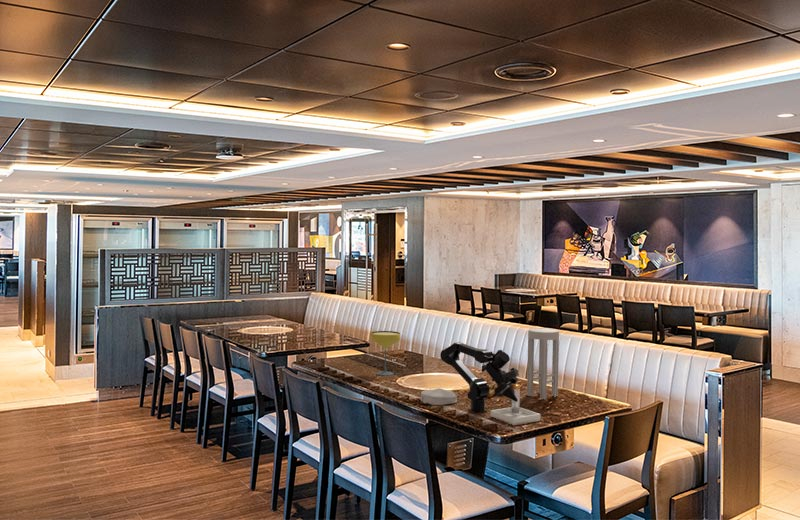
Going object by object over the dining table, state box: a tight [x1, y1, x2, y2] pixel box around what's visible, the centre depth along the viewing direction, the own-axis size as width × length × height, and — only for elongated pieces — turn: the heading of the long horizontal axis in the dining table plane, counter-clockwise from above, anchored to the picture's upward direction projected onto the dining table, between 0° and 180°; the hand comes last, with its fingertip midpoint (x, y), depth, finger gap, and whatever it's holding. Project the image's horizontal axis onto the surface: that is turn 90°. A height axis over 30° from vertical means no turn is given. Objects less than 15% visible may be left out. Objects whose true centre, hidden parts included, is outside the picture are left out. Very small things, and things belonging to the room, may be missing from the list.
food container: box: [419, 387, 458, 406], centre depth 331 cm, size 20×20×7 cm
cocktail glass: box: [370, 330, 401, 376], centre depth 395 cm, size 18×18×25 cm
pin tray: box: [490, 406, 542, 426], centre depth 299 cm, size 16×16×3 cm
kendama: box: [487, 383, 502, 398], centre depth 346 cm, size 8×6×18 cm
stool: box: [526, 328, 560, 400], centre depth 344 cm, size 16×16×35 cm
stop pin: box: [509, 383, 522, 416], centre depth 298 cm, size 6×6×14 cm
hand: (518, 400), depth 298 cm, fingers closed on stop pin, 4 cm apart
